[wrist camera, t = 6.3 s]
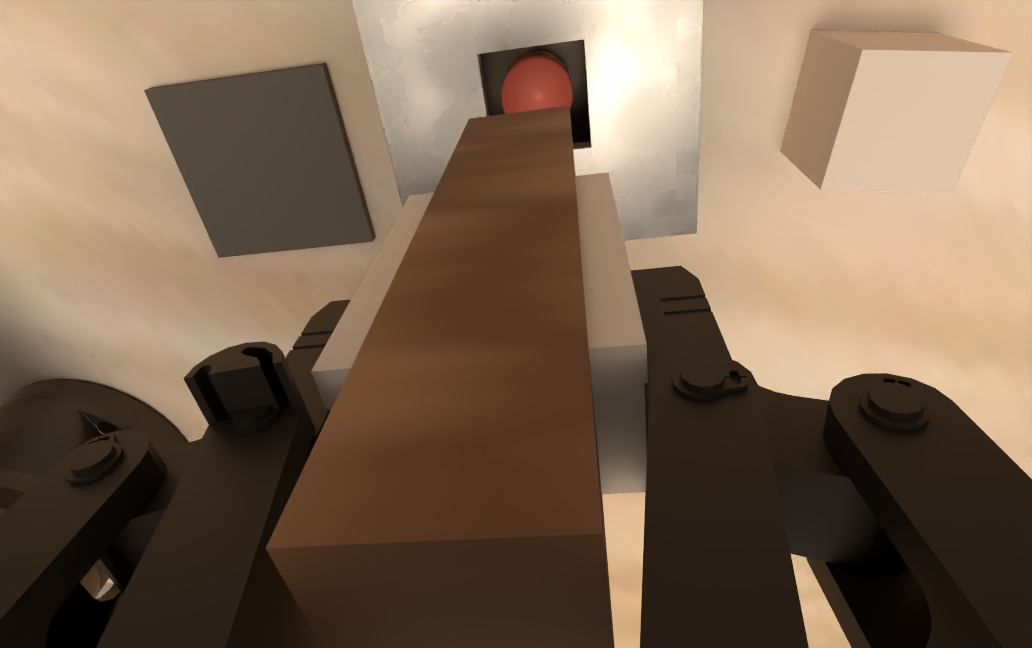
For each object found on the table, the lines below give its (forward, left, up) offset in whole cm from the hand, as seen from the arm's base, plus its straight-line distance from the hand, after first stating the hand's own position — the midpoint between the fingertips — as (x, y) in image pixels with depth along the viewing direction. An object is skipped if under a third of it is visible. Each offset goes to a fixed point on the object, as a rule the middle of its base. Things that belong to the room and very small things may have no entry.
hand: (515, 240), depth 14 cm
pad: (-16, -3, -21) cm, 26 cm away
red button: (0, 0, -18) cm, 18 cm away
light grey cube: (+16, -3, -21) cm, 27 cm away
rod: (0, 0, -6) cm, 6 cm away
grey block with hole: (0, 0, -21) cm, 21 cm away
